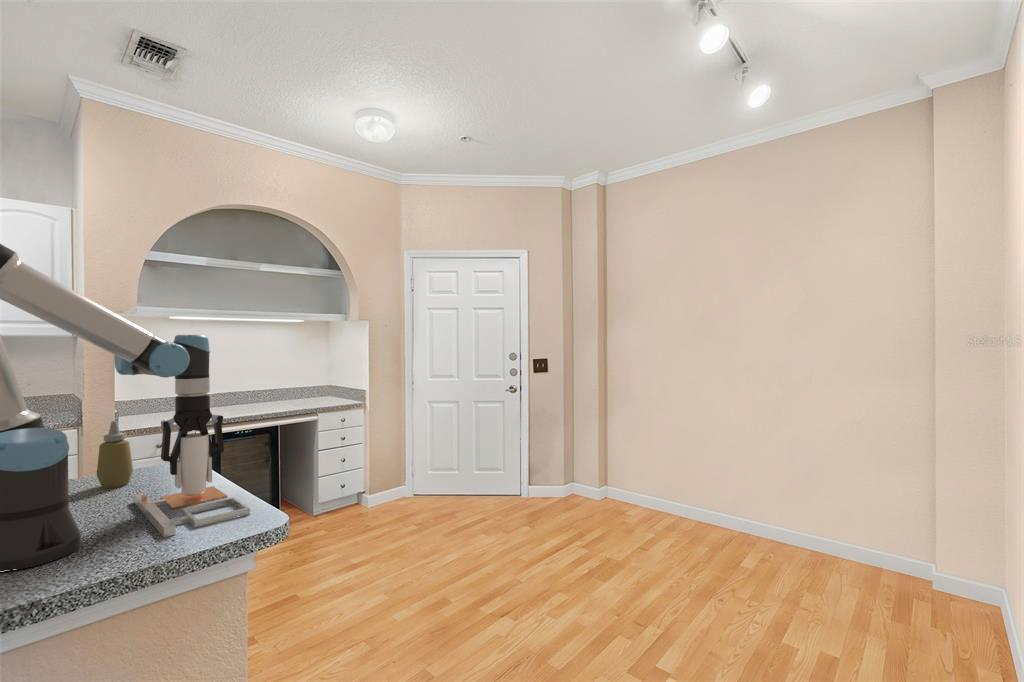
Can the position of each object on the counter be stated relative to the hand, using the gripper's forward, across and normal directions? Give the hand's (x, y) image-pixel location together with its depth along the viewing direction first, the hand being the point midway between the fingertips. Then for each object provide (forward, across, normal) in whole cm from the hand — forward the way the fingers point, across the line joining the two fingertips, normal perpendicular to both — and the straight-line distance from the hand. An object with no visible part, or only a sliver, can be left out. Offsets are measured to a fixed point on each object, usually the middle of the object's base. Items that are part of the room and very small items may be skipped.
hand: (193, 483), depth 129 cm
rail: (+4, +3, +9) cm, 10 cm away
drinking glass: (+3, 0, 0) cm, 3 cm away
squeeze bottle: (+4, +12, -29) cm, 32 cm away
